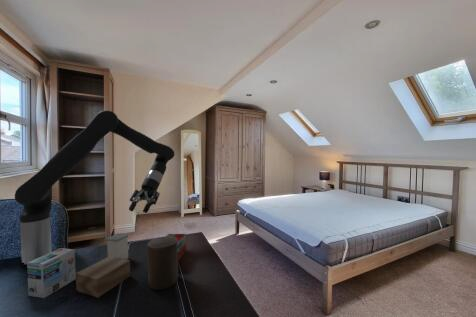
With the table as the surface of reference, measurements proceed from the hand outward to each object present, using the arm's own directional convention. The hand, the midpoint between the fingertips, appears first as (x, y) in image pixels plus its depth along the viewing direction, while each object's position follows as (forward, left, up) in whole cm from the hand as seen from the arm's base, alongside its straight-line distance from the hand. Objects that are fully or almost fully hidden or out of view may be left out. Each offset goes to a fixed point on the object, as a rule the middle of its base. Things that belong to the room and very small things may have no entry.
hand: (137, 211), depth 97 cm
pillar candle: (+27, -17, -18) cm, 37 cm away
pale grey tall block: (-1, -11, -18) cm, 20 cm away
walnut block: (+8, -24, -18) cm, 31 cm away
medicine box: (+20, -3, -18) cm, 27 cm away
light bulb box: (-7, -30, -18) cm, 36 cm away
